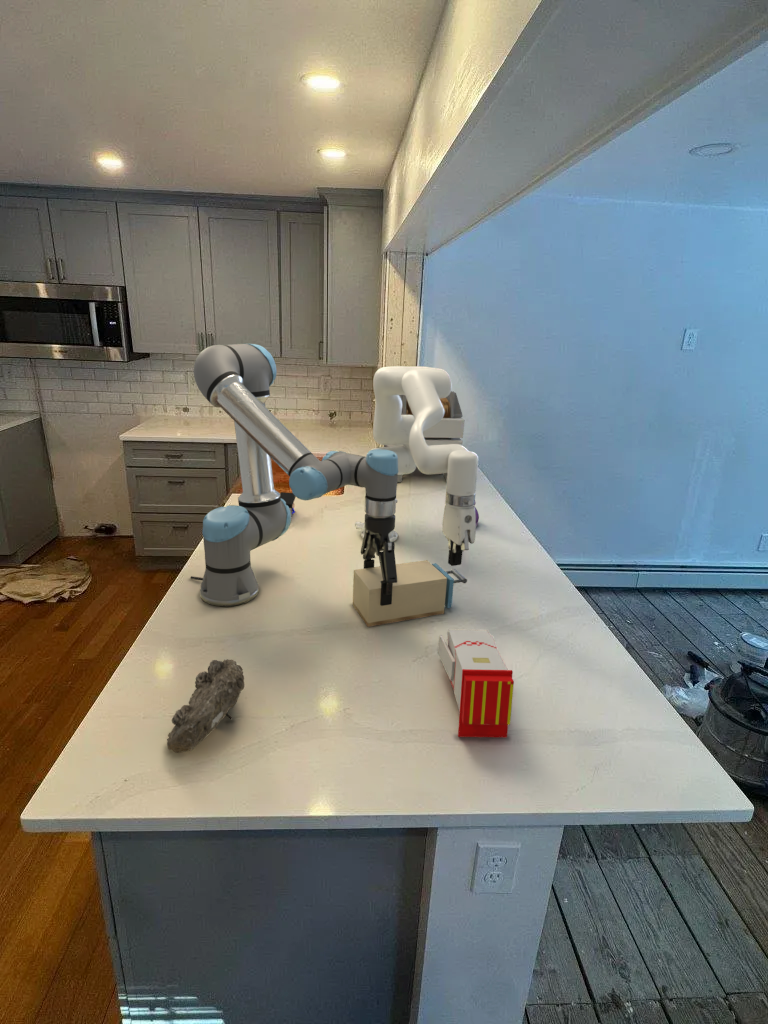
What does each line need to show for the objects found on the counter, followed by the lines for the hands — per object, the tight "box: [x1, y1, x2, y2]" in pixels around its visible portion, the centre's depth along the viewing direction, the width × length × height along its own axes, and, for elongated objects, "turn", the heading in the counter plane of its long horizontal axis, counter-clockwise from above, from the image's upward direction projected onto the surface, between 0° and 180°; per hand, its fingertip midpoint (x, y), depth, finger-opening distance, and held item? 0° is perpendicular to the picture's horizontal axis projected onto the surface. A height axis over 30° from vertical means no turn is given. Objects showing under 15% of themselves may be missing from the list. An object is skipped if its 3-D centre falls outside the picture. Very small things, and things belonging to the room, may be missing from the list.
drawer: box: [431, 562, 468, 609], centre depth 150 cm, size 25×10×8 cm, turn 112°
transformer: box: [383, 390, 465, 483], centre depth 268 cm, size 34×33×41 cm
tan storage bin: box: [352, 559, 447, 628], centre depth 148 cm, size 21×12×10 cm, turn 112°
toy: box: [437, 628, 515, 738], centre depth 117 cm, size 12×13×30 cm
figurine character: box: [279, 492, 297, 518], centre depth 210 cm, size 7×8×15 cm
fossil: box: [166, 658, 245, 754], centre depth 106 cm, size 22×10×15 cm
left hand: (376, 593), depth 146 cm, fingers closed on tan storage bin, 12 cm apart
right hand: (454, 564), depth 152 cm, fingers closed
